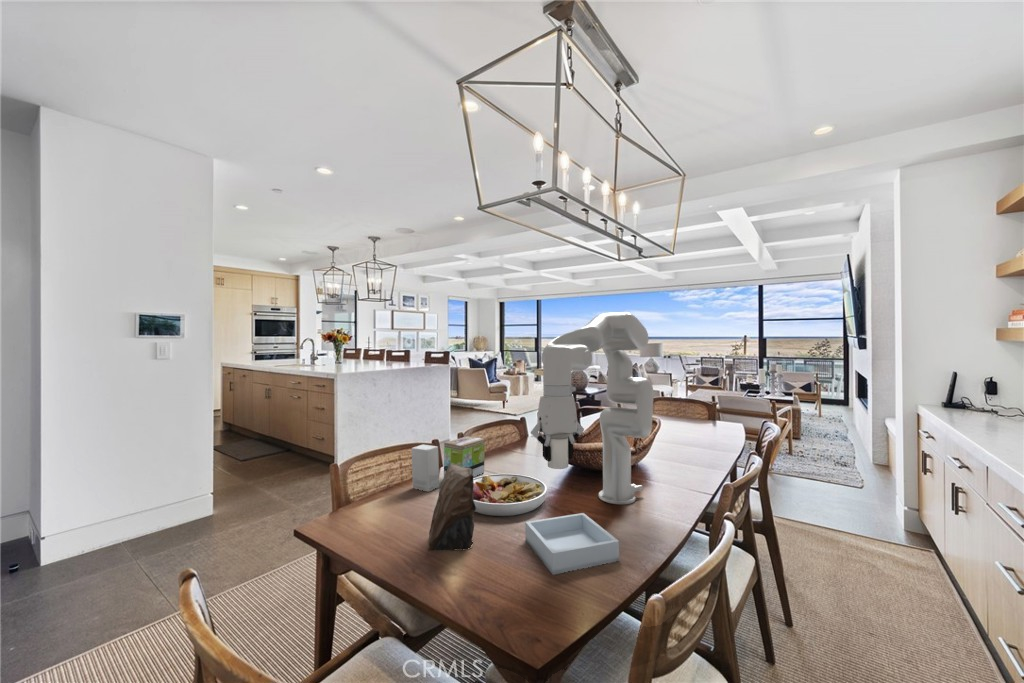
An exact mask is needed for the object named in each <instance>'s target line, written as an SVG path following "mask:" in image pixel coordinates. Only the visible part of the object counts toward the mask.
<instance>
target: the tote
mask: <svg viewBox="0 0 1024 683" xmlns="http://www.w3.org/2000/svg"><path fill="white" fill-rule="evenodd" d="M524 527H525V542H526V543H527V544H528V545H529V547H530V548H531V549H532V550H533V552H534V553H535V554H536V556H537V557H538V558H539V559H540V560H541V562H542V564H544V566H545V567H546V569H547V570H548V571H549V572H550V573H551V575H553V576H554V575H559V574H563V573H564V572H565V573H569V572H568V571H570V572H573V571H572V570H574V571H578V570H577V569H579V570H583V569H582V568H584V569H589V568H592V566H594V567H598V565H599V566H603V565H602V564H604V565H607V564H606V563H608V564H612V562H613V563H617V562H616V561H618V562H620V540H618V539H617V538H616V537H615V536H614V535H612V534H611V533H609V531H607V530H606V529H604V528H603V527H602V526H601V525H599V523H597V522H596V521H594V520H593V519H592V518H591V517H589V516H588V515H587V514H585V513H584V512H581V513H575V514H567V515H562V516H555V517H549V518H548V517H547V518H542V519H536V520H529V521H525V526H524ZM610 562H611V563H610ZM588 567H589V568H588Z"/></svg>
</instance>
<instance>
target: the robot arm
mask: <svg viewBox="0 0 1024 683" xmlns="http://www.w3.org/2000/svg"><path fill="white" fill-rule="evenodd" d="M648 343H649V334H648V330H647V328H646V327H645V326H644V324H643V322H641V321H640V320H639V319H638V317H637V316H635V315H634V314H632V313H630V312H628V311H622V312H620V311H619V312H603V313H600V314H597V315H596V316H595V317H594V318H592V319H591V320H590V321H589V322H588V323H587V324H585V325H584V326H582V327H580V328H578V329H574V330H572V331H570V332H567V333H564V334H561V335H559V336H557V337H555V338H553V339H552V340H551V341H550V342H549V343H547V344H546V345H545V347H544V348H543V350H542V353H541V362H542V366H543V367H542V369H543V370H542V372H543V373H542V374H543V375H542V376H543V377H542V378H543V382H542V384H543V386H542V387H543V390H542V391H543V396H542V395H541V396H540V398H539V402H538V409H537V410H538V411H537V419H536V420H537V423H536V424H535V426H534V427H533V428H532V429H531V431H530V434H531V435H532V436H533V437H534V438H535V439H536V440H538V442H539V443H540V444H541V445H542V458H543V459H544V460H545V461H546V462H547V463H548V462H549V461H551V447H550V446H549V442H550V439H551V435H553V434H565V433H568V434H569V437H568V460H572V459H573V455H574V444H575V443H576V441H577V439H578V438H579V437H580V435H582V434H583V432H585V428H584V427H583V426H582V425H581V424H580V423H579V421H578V417H577V416H578V414H577V413H578V412H577V408H576V407H577V406H576V402H575V396H574V395H573V392H576V391H577V387H576V386H573V384H572V372H582V371H586V370H587V369H589V367H590V366H591V365H592V361H593V354H592V353H593V352H597V351H599V350H601V349H602V351H603V353H604V356H606V361H607V378H606V390H605V391H606V398H607V400H608V401H610V403H614V404H621V405H631V406H632V405H633V406H636V408H628V407H618V406H610V407H609V406H608V407H606V408H604V409H603V410H602V411H601V412H600V413H599V425H600V426H599V427H600V431H601V436H602V437H601V438H602V490H600V491H599V492H598V498H599V499H600V500H601V501H603V502H604V503H605V502H606V503H608V504H612V505H629V504H632V503H633V504H634V502H636V499H637V497H636V494H635V493H636V492H642V491H644V487H643V485H642V484H639V485H638V484H637V485H636V484H635V483H632V454H631V453H632V450H631V449H632V448H631V446H630V443H629V442H628V441H629V440H628V439H627V438H626V437H629V438H636V439H645V438H648V437H649V436H650V435H651V433H652V426H653V416H654V415H653V413H654V411H653V410H654V387H653V384H652V382H651V381H650V380H649V379H648V378H646V377H639V376H638V377H633V368H634V366H633V361H632V359H631V358H630V356H629V355H628V354H627V353H626V351H643V350H644V349H645V348H647V346H648ZM539 432H540V433H542V436H541V434H540V433H539Z"/></svg>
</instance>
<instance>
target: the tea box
mask: <svg viewBox="0 0 1024 683" xmlns="http://www.w3.org/2000/svg"><path fill="white" fill-rule="evenodd" d="M485 446H486V443H485V438H482V437H474V436H469V435H467V436H463V437H460V438H457V439H453V440H448V441H445V442H444V447H443V450H444V451H443V478H444V477H445V474H446V471H447V469H448V466H449V463H454V464H456V465H457V466H460V467H465V468H471V469H472V470H473V478H476V477H478V476H480V475H482V473H483V474H484V473H485V452H486V451H485ZM479 474H480V475H479ZM477 475H478V476H477Z"/></svg>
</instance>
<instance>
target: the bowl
mask: <svg viewBox="0 0 1024 683" xmlns="http://www.w3.org/2000/svg"><path fill="white" fill-rule="evenodd" d="M473 485H474V486H473V498H474V503H475V506H476V510H475V512H476V513H478V514H481V515H487V516H493V517H512V516H518V515H522V514H523V515H524V514H526V513H530V512H531V511H534V510H536V509H537V508H539V507H540V506H541V505H542V504H543V503H544V502H545V500H546V497H547V495H548V493H547V492H548V487H547V484H545V483H544V482H543V481H541V479H538V478H535V477H532V476H529V475H525V474H524V475H523V474H515V473H494V474H493V473H492V474H486V475H481V476H480V475H479V476H475V477H473ZM475 512H474V513H475Z"/></svg>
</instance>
